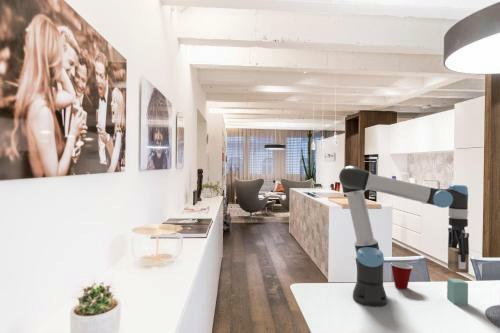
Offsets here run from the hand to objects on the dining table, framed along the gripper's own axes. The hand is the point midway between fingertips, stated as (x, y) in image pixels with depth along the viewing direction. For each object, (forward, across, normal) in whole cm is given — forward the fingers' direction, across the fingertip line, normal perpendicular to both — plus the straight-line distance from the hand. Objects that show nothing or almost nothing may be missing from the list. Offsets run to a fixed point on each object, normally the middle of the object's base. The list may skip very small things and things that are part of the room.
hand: (457, 266), depth 143 cm
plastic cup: (+17, +15, +20) cm, 30 cm away
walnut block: (+2, 0, 0) cm, 2 cm away
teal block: (+17, 0, 0) cm, 17 cm away
